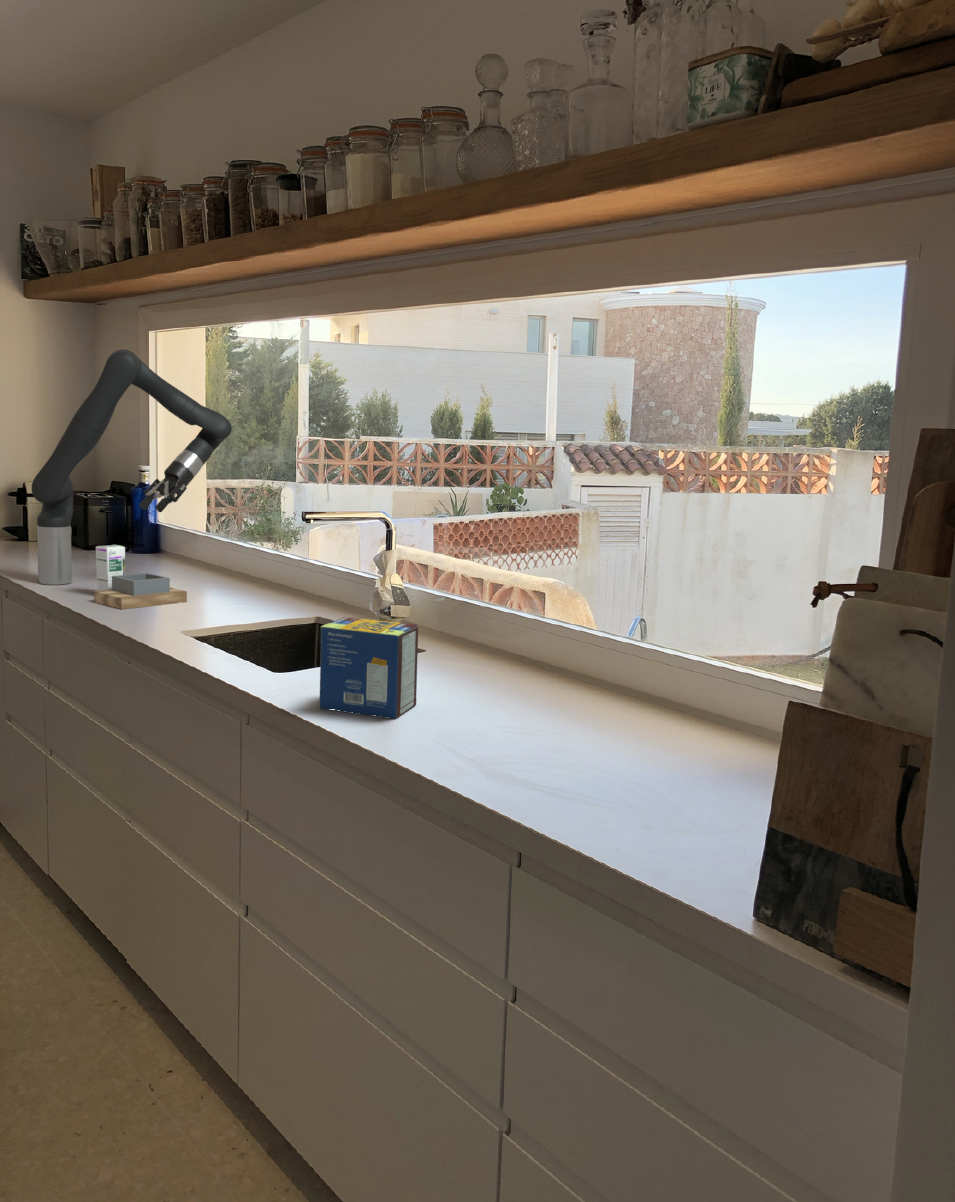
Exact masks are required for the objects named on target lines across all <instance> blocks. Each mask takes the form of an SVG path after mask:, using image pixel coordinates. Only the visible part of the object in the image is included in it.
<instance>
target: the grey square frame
mask: <svg viewBox="0 0 955 1202" xmlns="http://www.w3.org/2000/svg"><path fill="white" fill-rule="evenodd" d="M170 580H171V579H170V577H168V576H163V575H158V574H154V573H150V572H144V573H132V574H126V575H118V576H112V590H113V591H117V592H120V593H124V594H128V595H132V596H138V595H148V594H157V593H166V592H170V586H171V584H170V582H171V581H170Z"/></svg>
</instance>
